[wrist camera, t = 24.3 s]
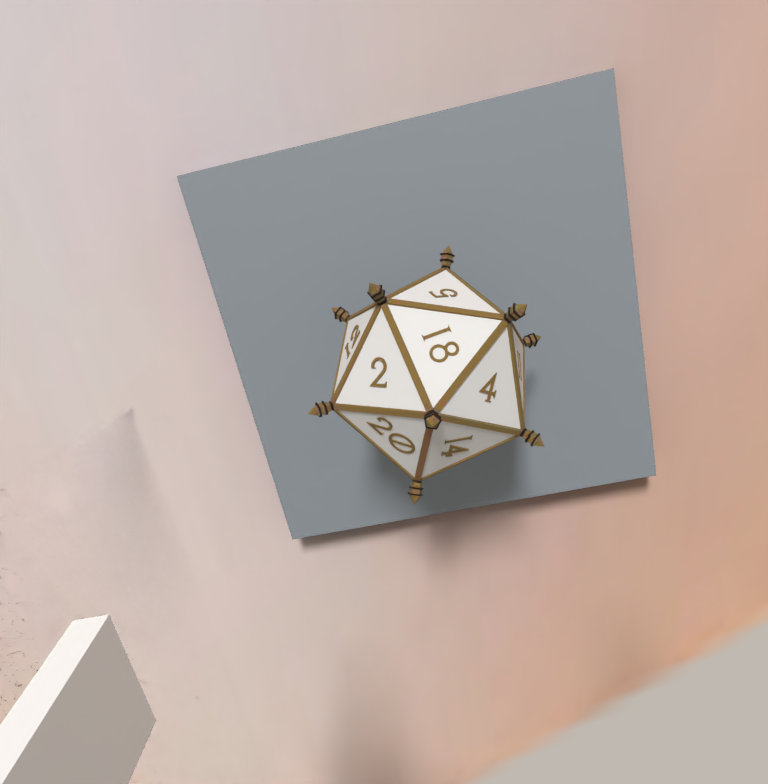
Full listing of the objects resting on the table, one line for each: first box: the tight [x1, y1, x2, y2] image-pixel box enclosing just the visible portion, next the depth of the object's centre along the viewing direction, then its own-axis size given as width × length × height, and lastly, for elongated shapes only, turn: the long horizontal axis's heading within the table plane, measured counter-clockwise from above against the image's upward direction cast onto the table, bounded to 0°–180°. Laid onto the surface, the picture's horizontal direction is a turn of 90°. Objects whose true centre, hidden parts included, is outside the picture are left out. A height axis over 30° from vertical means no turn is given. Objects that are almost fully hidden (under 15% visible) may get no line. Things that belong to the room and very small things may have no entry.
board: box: [177, 68, 656, 539], centre depth 32 cm, size 18×18×2 cm
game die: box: [308, 245, 545, 505], centre depth 26 cm, size 9×8×10 cm
